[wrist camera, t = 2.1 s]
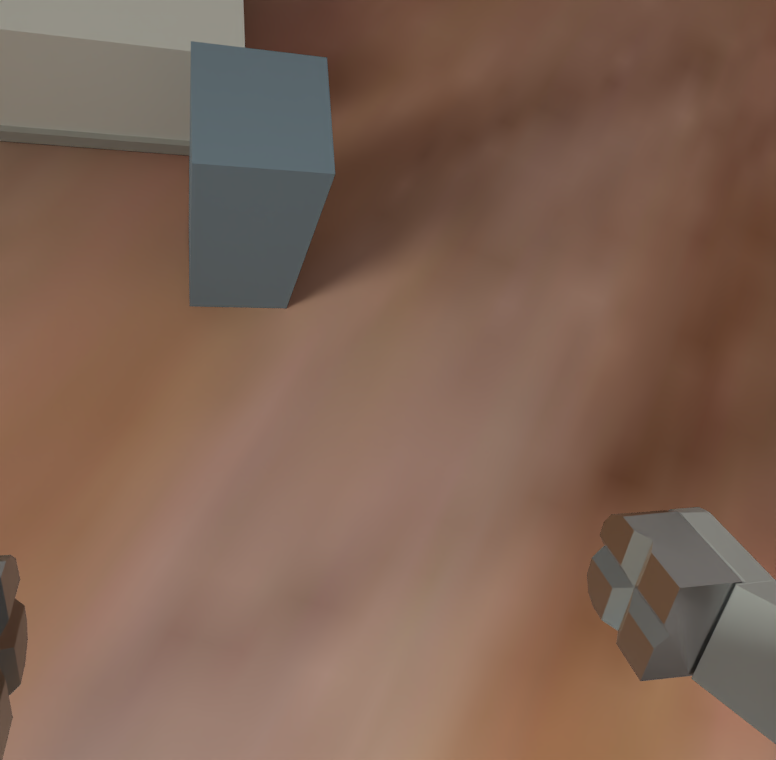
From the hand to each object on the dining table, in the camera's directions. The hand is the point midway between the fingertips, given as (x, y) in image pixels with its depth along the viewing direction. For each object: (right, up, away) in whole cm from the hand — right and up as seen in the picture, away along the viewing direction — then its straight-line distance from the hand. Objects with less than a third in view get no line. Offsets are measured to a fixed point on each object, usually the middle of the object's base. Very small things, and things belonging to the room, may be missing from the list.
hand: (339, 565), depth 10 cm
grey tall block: (-7, +8, +24) cm, 26 cm away
